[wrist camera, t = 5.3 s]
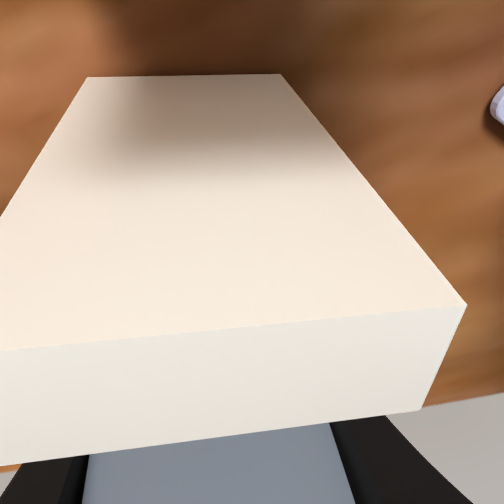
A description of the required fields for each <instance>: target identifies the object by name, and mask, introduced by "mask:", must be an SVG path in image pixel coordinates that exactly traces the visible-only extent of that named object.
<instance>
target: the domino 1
mask: <svg viewBox="0 0 504 504" xmlns="http://www.w3.org/2000/svg"><path fill="white" fill-rule="evenodd" d="M466 307H467V304H466V303H465V302H464V300H463V299H462V298H461V297H460V296H459V294H458V293H457V292H456V291H455V289H454V288H453V287H452V286H451V284H450V283H449V282H448V281H447V279H446V278H445V277H444V276H443V274H442V273H441V272H440V271H439V270H438V268H437V267H436V266H435V265H434V263H433V262H432V261H431V260H430V258H429V257H428V256H427V255H426V253H425V252H424V251H423V250H422V248H421V247H420V246H419V245H418V244H417V242H416V241H415V240H414V239H413V237H412V236H411V235H410V234H409V232H408V231H407V230H406V229H405V227H404V226H403V225H402V224H401V222H400V221H399V220H398V219H397V218H396V216H395V215H394V214H393V213H392V211H391V210H390V209H389V208H388V206H387V205H386V204H385V203H384V201H383V200H382V199H381V198H380V196H379V195H378V194H377V193H376V192H375V190H374V189H373V188H372V187H371V185H370V184H369V183H368V182H367V180H366V179H365V178H364V177H363V175H362V174H361V173H360V172H359V170H358V169H357V168H356V167H355V166H354V164H353V163H352V162H351V161H350V159H349V158H348V157H347V156H346V154H345V153H344V152H343V151H342V149H341V148H340V147H339V146H338V144H337V143H336V142H335V141H334V140H333V138H332V137H331V136H330V135H329V133H328V132H327V131H326V130H325V128H324V127H323V126H322V125H321V123H320V122H319V121H318V120H317V118H316V117H315V116H314V115H313V114H312V112H311V111H310V110H309V109H308V107H307V106H306V105H305V104H304V102H303V101H302V100H301V99H300V97H299V96H298V95H297V94H296V92H295V91H294V90H293V89H292V88H291V86H290V85H289V84H288V83H287V81H286V80H285V79H284V78H283V76H282V75H281V74H246V75H190V76H133V77H87V78H86V80H85V82H84V83H83V85H82V87H81V88H80V90H79V91H78V93H77V95H76V96H75V98H74V99H73V101H72V103H71V104H70V106H69V107H68V109H67V111H66V112H65V114H64V116H63V117H62V119H61V120H60V122H59V124H58V125H57V127H56V128H55V130H54V132H53V133H52V135H51V137H50V138H49V140H48V141H47V143H46V145H45V146H44V148H43V149H42V151H41V153H40V154H39V156H38V157H37V159H36V161H35V162H34V164H33V166H32V167H31V169H30V170H29V172H28V174H27V175H26V177H25V178H24V180H23V182H22V183H21V185H20V187H19V188H18V190H17V191H16V193H15V195H14V196H13V198H12V199H11V201H10V203H9V204H8V206H7V207H6V209H5V211H4V212H3V214H2V216H1V217H0V466H5V465H13V464H20V463H28V462H35V461H43V460H50V459H58V458H65V457H73V456H80V455H88V454H96V453H103V452H111V451H118V450H126V449H133V448H141V447H148V446H156V445H163V444H171V443H178V442H186V441H193V440H201V439H208V438H216V437H223V436H231V435H238V434H246V433H253V432H261V431H269V430H276V429H284V428H291V427H299V426H306V425H314V424H321V423H329V422H336V421H344V420H351V419H359V418H366V417H374V416H381V415H389V414H396V413H403V412H411V411H419V410H420V409H421V407H422V405H423V402H424V400H425V398H426V396H427V394H428V391H429V389H430V387H431V385H432V382H433V380H434V378H435V376H436V373H437V371H438V369H439V367H440V365H441V362H442V360H443V358H444V356H445V353H446V351H447V349H448V347H449V344H450V342H451V340H452V338H453V336H454V333H455V331H456V329H457V327H458V324H459V322H460V320H461V318H462V315H463V313H464V311H465V309H466Z"/></svg>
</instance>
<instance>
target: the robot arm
mask: <svg viewBox="0 0 504 504" xmlns="http://www.w3.org/2000/svg"><path fill="white" fill-rule="evenodd" d="M490 113H491V115H492V116H493V117H494V118H495V119H496V120H498V121H499V122H500V123H501V124H503V125H504V86H503V87H502V88H501V89H500V90H499V92H498V93H497V94H496V95H495V97H494V98H493V100H492V102H491V105H490ZM329 425H330V428H331V431H332V434H333V437H334V440H335V443H336V446H337V449H338V452H339V455H340V458H341V461H342V464H343V468H344V471H345V474H346V477H347V480H348V483H349V486H350V489H351V492H352V495H353V498H354V501H355V504H473V503H472V502H471V501H470V500H468V499H467V498H466V497H465V496H464V495H463V494H462V493H461V492H460V491H458V490H457V489H456V488H455V487H454V486H453V485H452V484H451V483H450V482H449V481H448V480H447V479H446V478H444V476H443V475H442V474H440V473H439V472H438V471H437V470H436V469H435V468H434V467H433V466H432V465H431V464H430V463H429V462H428V461H427V460H426V459H425V458H424V457H423V456H422V455H421V454H420V453H419V452H418V451H417V450H416V449H415V448H414V447H413V445H412V444H411V443H409V441H408V440H407V439H406V438H405V437H404V436H403V435H402V434H401V433H400V431H399V430H398V429H397V428H396V427H395V426H394V425H393V424H392V423H391V422H390V420H389V419H388V418H387V417H386V416H385V415H381V416H374V417H366V418H359V419H351V420H344V421H336V422H329ZM89 456H90V454H88V455H80V456H73V457H65V458H58V459H50V460H43V461H35V462H28V463H22V465H21V466H20V468H19V469H18V471H17V472H16V474H15V476H14V477H13V479H12V480H11V482H10V483H9V485H8V486H7V488H6V489H5V491H4V492H3V494H2V495H1V497H0V504H82V499H83V493H84V487H85V481H86V474H87V468H88V462H89Z"/></svg>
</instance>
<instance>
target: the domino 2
mask: <svg viewBox="0 0 504 504" xmlns="http://www.w3.org/2000/svg"><path fill="white" fill-rule="evenodd" d="M82 504H355V501H354V498H353V495H352V492H351V489H350V486H349V483H348V480H347V477H346V474H345V471H344V468H343V464H342V461H341V458H340V455H339V452H338V449H337V446H336V443H335V440H334V437H333V434H332V431H331V428H330V425H329V423H321V424H314V425H306V426H299V427H291V428H284V429H276V430H269V431H261V432H253V433H246V434H238V435H231V436H223V437H216V438H208V439H201V440H193V441H186V442H178V443H171V444H163V445H156V446H148V447H141V448H133V449H126V450H118V451H111V452H103V453H96V454H90V456H89V462H88V468H87V474H86V481H85V487H84V493H83V499H82Z"/></svg>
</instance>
